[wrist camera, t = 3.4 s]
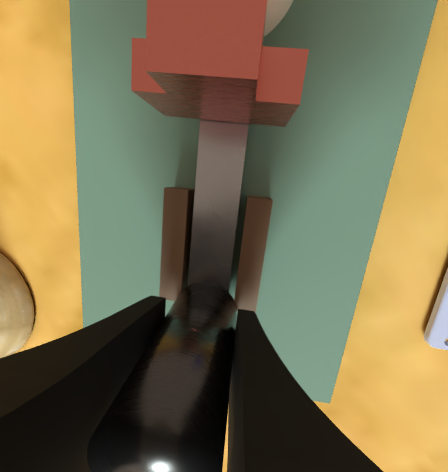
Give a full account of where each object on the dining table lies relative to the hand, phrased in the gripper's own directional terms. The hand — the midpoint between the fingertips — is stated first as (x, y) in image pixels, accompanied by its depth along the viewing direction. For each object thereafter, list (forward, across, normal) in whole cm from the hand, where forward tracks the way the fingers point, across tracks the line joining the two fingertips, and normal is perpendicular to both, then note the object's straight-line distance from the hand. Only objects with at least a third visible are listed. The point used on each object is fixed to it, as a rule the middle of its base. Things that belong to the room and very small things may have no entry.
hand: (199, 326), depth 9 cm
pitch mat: (+4, 0, -6) cm, 7 cm away
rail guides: (+3, 0, -2) cm, 4 cm away
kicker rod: (+3, 0, -4) cm, 4 cm away
